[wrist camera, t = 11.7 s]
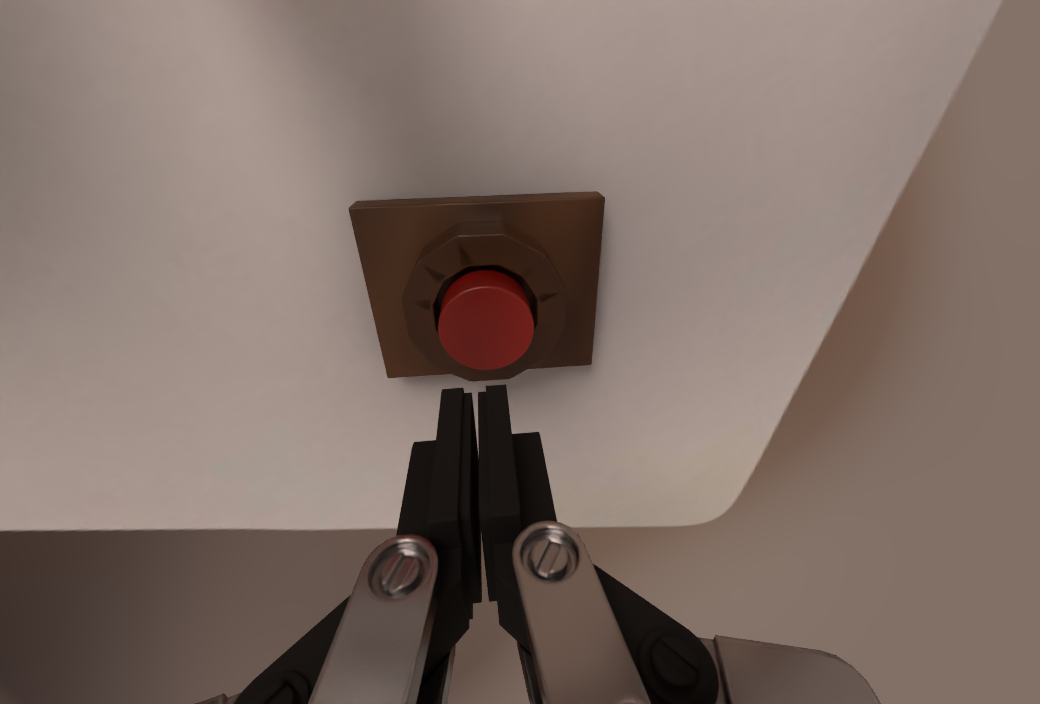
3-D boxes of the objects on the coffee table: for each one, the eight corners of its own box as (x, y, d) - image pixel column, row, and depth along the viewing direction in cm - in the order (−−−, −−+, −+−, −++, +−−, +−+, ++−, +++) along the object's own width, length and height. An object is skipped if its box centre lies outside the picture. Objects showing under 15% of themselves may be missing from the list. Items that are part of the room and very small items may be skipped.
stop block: (598, 191, 17) (618, 207, 15) (586, 352, 22) (600, 387, 19) (355, 200, 17) (333, 219, 14) (391, 365, 21) (379, 401, 19)
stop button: (529, 266, 16) (534, 283, 15) (530, 345, 18) (534, 367, 17) (436, 271, 16) (431, 289, 15) (446, 351, 18) (443, 374, 16)
